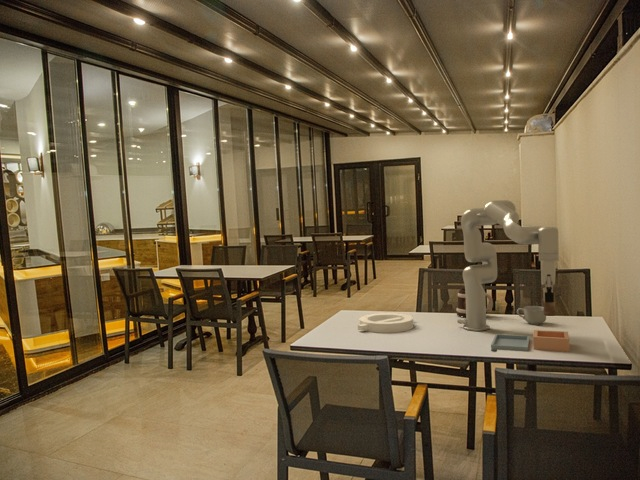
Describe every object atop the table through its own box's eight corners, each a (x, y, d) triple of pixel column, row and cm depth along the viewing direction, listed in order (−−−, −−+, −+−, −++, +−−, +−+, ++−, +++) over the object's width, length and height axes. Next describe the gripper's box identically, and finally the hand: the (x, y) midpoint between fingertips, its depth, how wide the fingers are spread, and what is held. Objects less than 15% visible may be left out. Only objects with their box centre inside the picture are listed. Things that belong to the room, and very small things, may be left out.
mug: (455, 318, 271) (454, 291, 271) (457, 312, 285) (456, 287, 285) (493, 319, 264) (492, 291, 264) (493, 313, 279) (492, 287, 278)
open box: (533, 351, 198) (533, 336, 198) (534, 343, 210) (533, 330, 210) (569, 353, 193) (569, 338, 193) (568, 345, 205) (567, 331, 204)
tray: (491, 350, 202) (491, 344, 202) (495, 339, 220) (495, 334, 220) (527, 353, 196) (527, 347, 196) (529, 341, 214) (529, 335, 214)
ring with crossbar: (413, 321, 269) (412, 312, 268) (413, 333, 241) (413, 323, 241) (362, 321, 274) (361, 313, 273) (357, 333, 246) (356, 324, 246)
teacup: (548, 322, 251) (547, 306, 251) (545, 326, 242) (544, 310, 242) (519, 320, 259) (519, 305, 258) (515, 324, 250) (515, 308, 249)
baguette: (543, 315, 200) (543, 288, 200) (543, 313, 204) (543, 287, 204) (555, 316, 198) (555, 289, 198) (555, 314, 202) (554, 287, 202)
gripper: (538, 255, 209) (539, 297, 210) (538, 258, 194) (539, 304, 195) (558, 255, 206) (558, 298, 207) (559, 258, 191) (559, 305, 192)
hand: (549, 300), depth 201 cm, fingers closed on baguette, 4 cm apart
